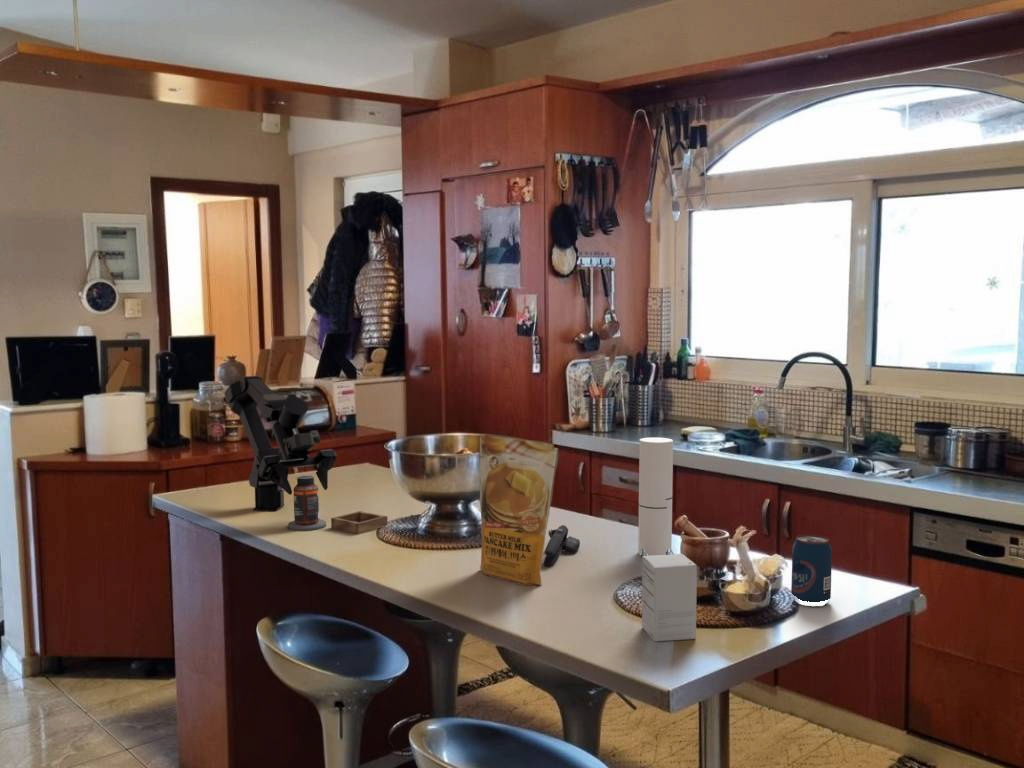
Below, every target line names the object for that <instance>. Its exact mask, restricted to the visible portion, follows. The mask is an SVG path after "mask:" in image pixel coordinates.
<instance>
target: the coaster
mask: <svg viewBox="0 0 1024 768" xmlns="http://www.w3.org/2000/svg"><path fill="white" fill-rule="evenodd" d="M287 526H288V527H289V528H290V529H289V528H288V529H289V530H292V529H293V531H298V530H301V531H300V532H302V531H303V532H305V531H317V530H321V529H323V528H324V529H325V528H326V526H327V522H326V520H324V519H320V518H319V521H318V522H317V523H315V524H310V525H299V524H296V523H295V519H294V520H291V521H289V522H288V523H287Z"/></svg>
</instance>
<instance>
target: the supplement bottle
mask: <svg viewBox="0 0 1024 768" xmlns="http://www.w3.org/2000/svg"><path fill="white" fill-rule="evenodd" d="M296 481H297V482H296V483H297V484H296V485H295V486H294V487H293V507H294V508H293V512H294V513H293V517H294V520H295V523H296V524H299V525H310V524H315V523H317V522H318V521H319V519H320V503H319V501H320V498H319V497H320V496H319V486H318V485H316V484H315V476H313V475H299V476H297V478H296Z"/></svg>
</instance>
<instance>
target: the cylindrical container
mask: <svg viewBox="0 0 1024 768" xmlns="http://www.w3.org/2000/svg"><path fill="white" fill-rule="evenodd" d="M638 453H639V454H638V455H639V459H638V460H639V463H638V464H639V465H638V466H639V467H638V472H639V473H638V476H639V477H638V480H639V481H638V542H637V543H638V544H637V546H638V549H637V550H638V552H637V554H638V555H639V556H641V555H640V554H641V549H643V550H645V552H646V553H647V554H648V556H651V555H666V552H667V549H671V550H672V546H673V545H672V543H673V542H672V541H673V540H672V537H673V536H672V535H673V533H672V532H673V530H672V529H673V481H674V480H673V479H674V478H673V477H674V476H673V473H674V472H673V471H674V469H673V468H674V467H673V463H674V440H673V439H671V438H666V437H644V438H643V437H642V438H640V439H639V452H638Z"/></svg>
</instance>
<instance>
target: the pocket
mask: <svg viewBox="0 0 1024 768" xmlns="http://www.w3.org/2000/svg"><path fill="white" fill-rule="evenodd" d="M330 521H331V524H330V525H331V526H330V527H331V529H332V530H337V531H342V532H347V533H350V534H351V533H352V534H357V535H361V534H364V533H368V532H372V531H376V529H377V530H379V529H378V528H380V527H382V526H386V525H388V516H387V515H383V514H377V513H371V512H365V511H361V510H360V511H355V512H351V513H347V514H343V515H338V516H335V517H331V518H330ZM388 526H389V525H388ZM380 529H381V528H380Z"/></svg>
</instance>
